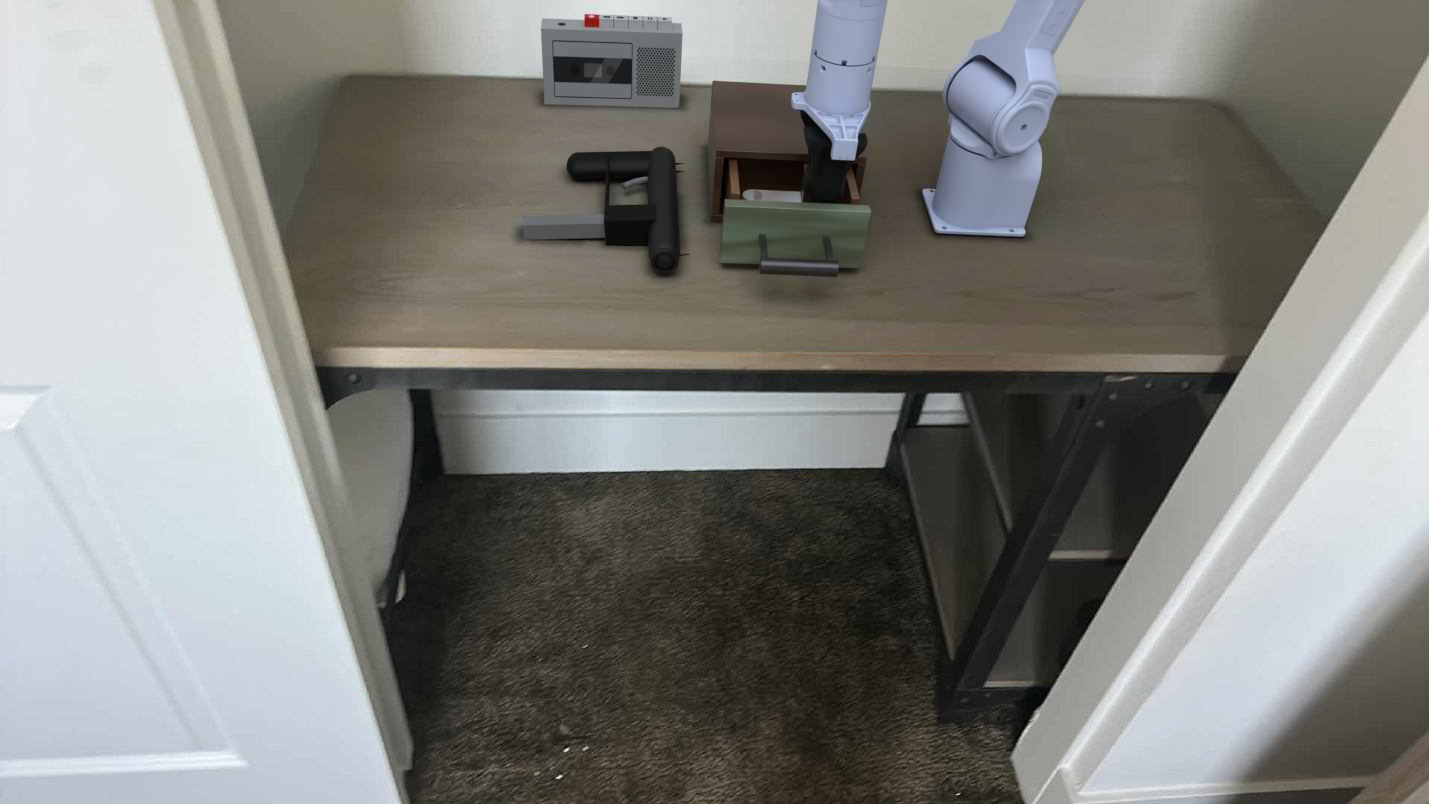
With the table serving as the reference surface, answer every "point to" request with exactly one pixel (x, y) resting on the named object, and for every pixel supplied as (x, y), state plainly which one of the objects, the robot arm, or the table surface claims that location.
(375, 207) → the table surface
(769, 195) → the grey sheathed bar
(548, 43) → the cassette player
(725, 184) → the drawer
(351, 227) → the table surface
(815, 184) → the robot arm
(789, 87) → the cabinet
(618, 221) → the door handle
